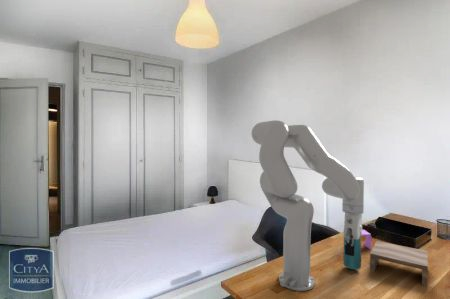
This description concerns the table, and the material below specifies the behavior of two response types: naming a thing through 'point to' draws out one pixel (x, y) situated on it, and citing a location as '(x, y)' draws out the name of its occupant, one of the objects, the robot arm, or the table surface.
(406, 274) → the table surface
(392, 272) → the table surface
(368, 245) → the toy chair
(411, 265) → the walnut shelf
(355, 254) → the beverage bottle
